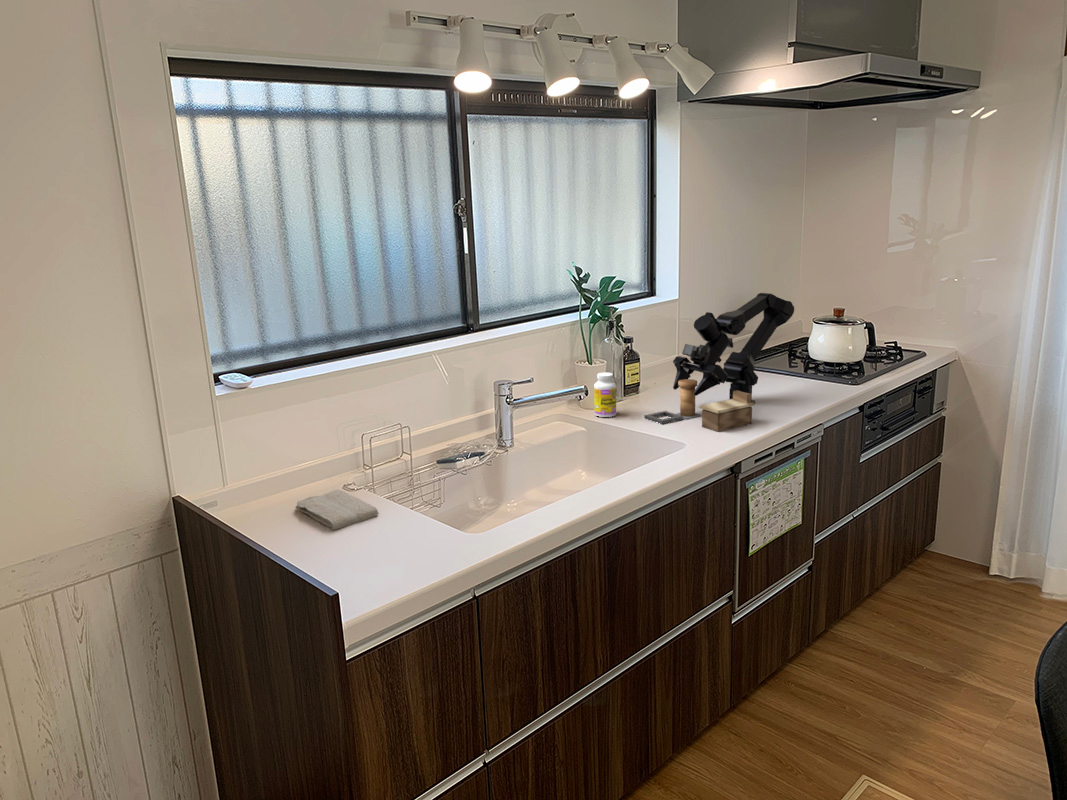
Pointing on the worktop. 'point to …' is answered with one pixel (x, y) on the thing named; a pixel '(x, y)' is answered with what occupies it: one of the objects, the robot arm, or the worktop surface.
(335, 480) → the worktop surface
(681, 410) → the key peg
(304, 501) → the washcloth
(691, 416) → the felt pad
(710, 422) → the toolbox
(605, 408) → the supplement bottle
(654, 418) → the keeper
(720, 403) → the lid
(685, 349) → the robot arm
